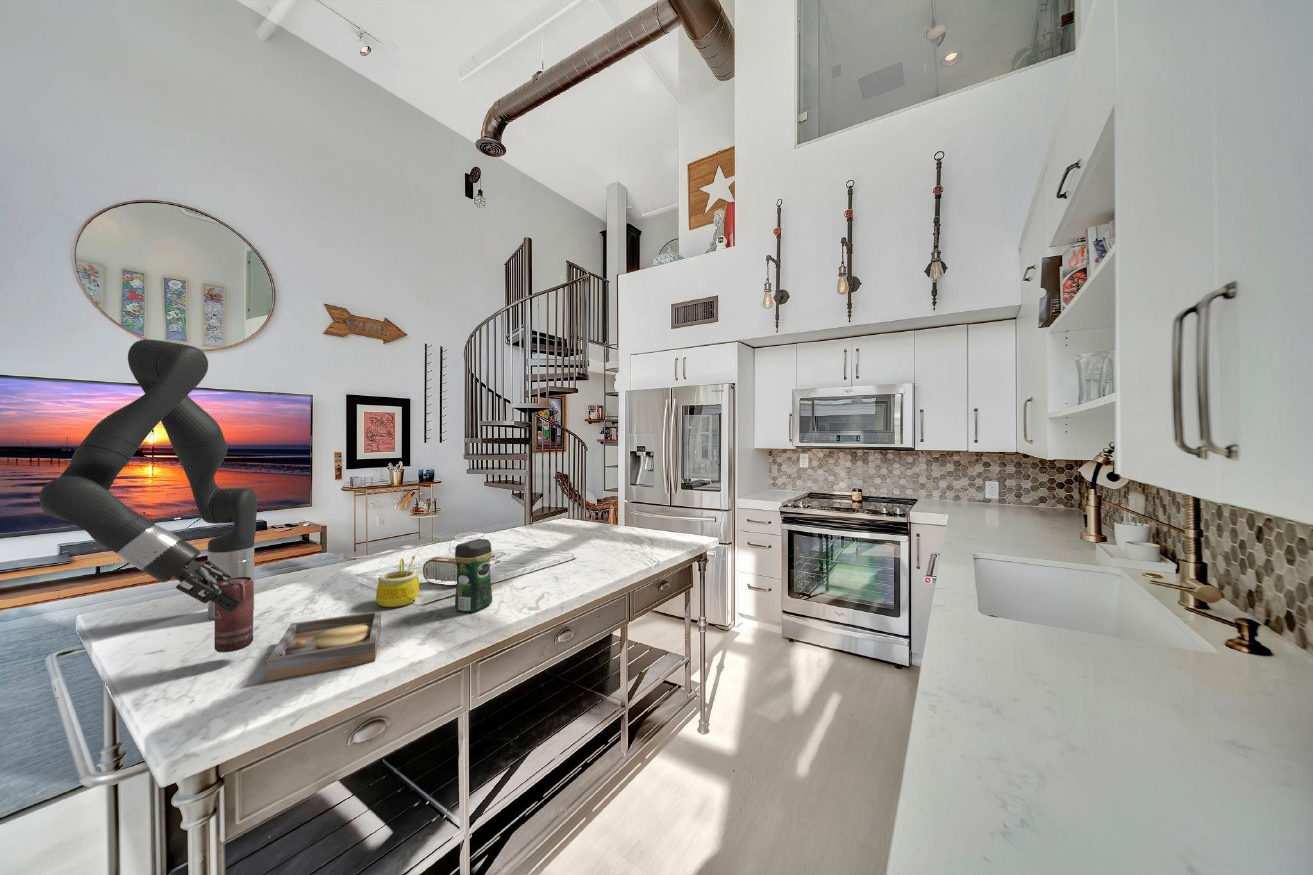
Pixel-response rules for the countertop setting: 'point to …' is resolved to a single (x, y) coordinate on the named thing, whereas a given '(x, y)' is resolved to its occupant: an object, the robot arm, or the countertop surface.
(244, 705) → the countertop surface
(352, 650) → the carrier tray
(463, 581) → the coffee jar
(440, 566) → the tin
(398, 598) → the yellow pot
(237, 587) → the can
